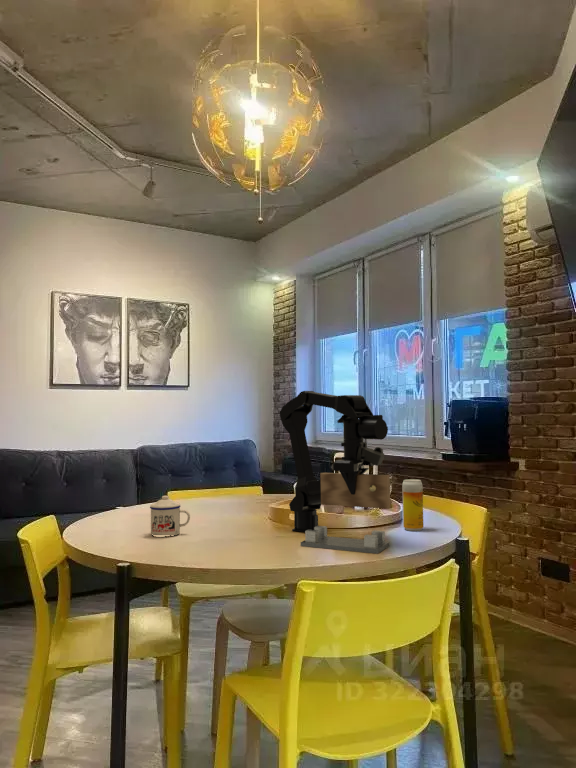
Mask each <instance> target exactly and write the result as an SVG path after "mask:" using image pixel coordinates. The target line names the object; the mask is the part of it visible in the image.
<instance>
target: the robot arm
mask: <svg viewBox="0 0 576 768" xmlns="http://www.w3.org/2000/svg"><path fill="white" fill-rule="evenodd" d="M313 406H318V407H324V408H328V409H329V408H330V409H333V410H335V411H336V413H338V414H342V415H341V416H340V418H339V419H338V420H337V423H338V424H342V426H343V433H342V434H343V442H341V445H340V446H341V447H343V456H342V457H341V459H337V460H334V461H333V463H332V471H334V472H338V473H341V475H342V477H343V479H344V480H345V483H346V485H347V487H348V489H349V491H350V493H351V494H352V495H354V494H355V491H356V483H357V476H358V475H359V474H366V472H367V471H368V470H370V469H369V467H375V466H376V467H377V466H379V465H380V466H382V464H383V461H384V459H385V453H384V449H383V448H382V447H380V446H377V447H375V448H374V449H373V448H369V447H368V443H367V442H366V441H364V440H380V441H381V440H384V439H386V437H387V435H388V432H389V427H388V425H387V422H386V420H385V419H384V416H383V414H373V412H372V410H371V409H370V407H369V405H368V404H367V401H366V399H365V397H364V396H363V395H359V394H358V395H356V394H355V395H354V394H348V395H347V394H344V395H343V394H342V395H335V394H327V393H322V392H315V391H314V390H302V391H300V392H299V394H297V396H295V397H293V398H292V399H290V400H289V401H287V402H286V404H285V405H283V406H282V407H281V409H280V411H279V418H280V421H281V424H282V426H283V428H284V429H285V431H287V433H288V435H289V440H290V445H291V448H292V455H293V460H294V464H295V465H294V466H295V469H296V476H297V482H296V484H295V487H294V494H295V496H294V497H293V498H292V500H291V501H290V502H289V510H290V511H291V512H294V513H293V515H294V516H293V517H294V520H293V521H294V528H291V531H293V532H294V531H295V532H303V533H305V531H306V530H308V529H309V530H314V527H315V526H319V515H318V514H317V510H320V509H321V507H322V505H321V479H317V478H316V477H315V475H314V471H313V467H312V462H311V455H310V451H309V450H310V449H309V446H308V441H307V436H306V428H307V425H308V415H309V414H310V413H311V412H312V410H313V408H314V407H313ZM365 466H369V467H365Z"/></svg>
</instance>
